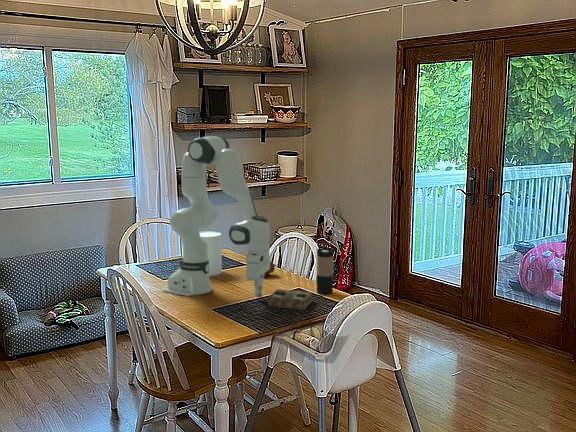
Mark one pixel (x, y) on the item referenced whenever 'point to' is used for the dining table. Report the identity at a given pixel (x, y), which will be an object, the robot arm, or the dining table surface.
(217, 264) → the canister
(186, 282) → the robot arm
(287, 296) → the socket block
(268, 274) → the dragon fruit
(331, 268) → the travel mug
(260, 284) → the steel plug
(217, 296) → the dining table surface
